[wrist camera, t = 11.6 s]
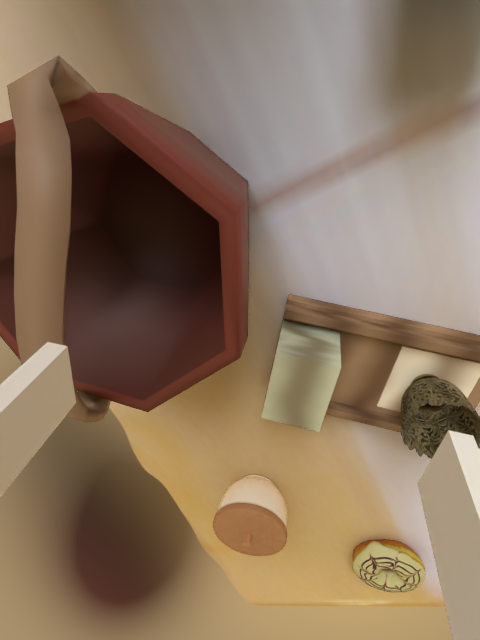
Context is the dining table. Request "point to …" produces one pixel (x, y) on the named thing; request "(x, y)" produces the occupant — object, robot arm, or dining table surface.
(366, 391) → the brown wooden tray
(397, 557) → the decorated donut
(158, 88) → the dining table surface
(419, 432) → the cup
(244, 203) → the bucket
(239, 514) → the lidded jar
